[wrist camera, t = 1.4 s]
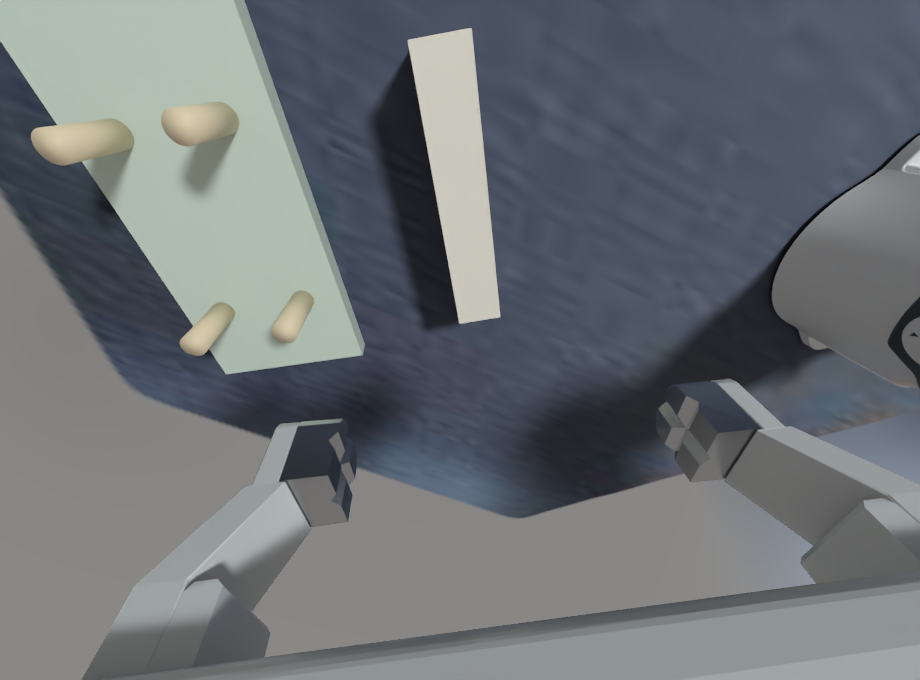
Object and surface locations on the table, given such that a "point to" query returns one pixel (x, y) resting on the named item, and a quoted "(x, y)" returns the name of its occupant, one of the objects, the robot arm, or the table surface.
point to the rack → (191, 167)
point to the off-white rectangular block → (458, 166)
